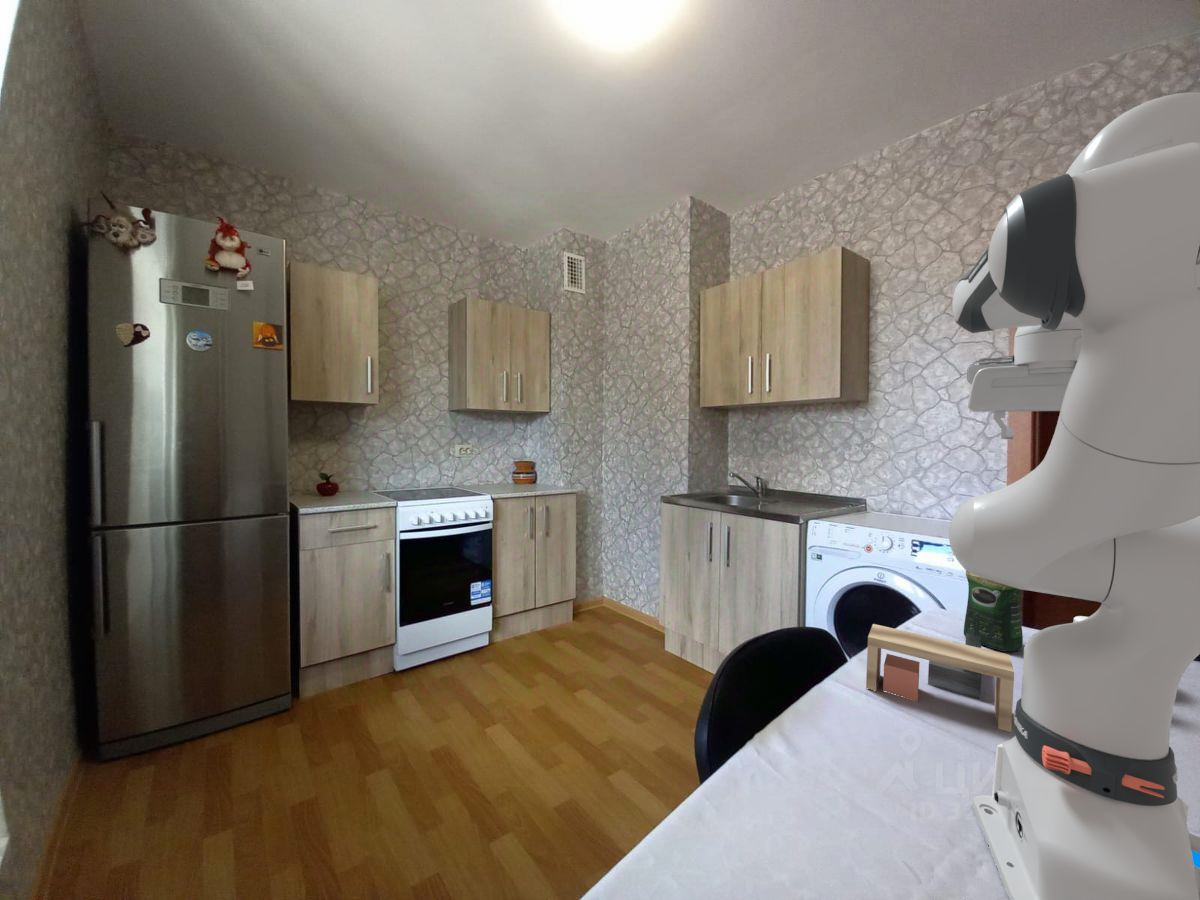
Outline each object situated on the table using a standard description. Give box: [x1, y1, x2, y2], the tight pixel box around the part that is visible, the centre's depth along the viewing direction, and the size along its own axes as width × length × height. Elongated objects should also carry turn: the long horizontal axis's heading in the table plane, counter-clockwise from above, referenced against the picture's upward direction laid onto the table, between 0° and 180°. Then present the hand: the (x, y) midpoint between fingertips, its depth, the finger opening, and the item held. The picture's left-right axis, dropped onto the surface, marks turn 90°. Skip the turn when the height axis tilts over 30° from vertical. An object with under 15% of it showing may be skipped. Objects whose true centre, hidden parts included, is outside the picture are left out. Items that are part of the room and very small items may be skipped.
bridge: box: [865, 623, 1015, 733], centre depth 80 cm, size 7×20×10 cm, turn 53°
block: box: [882, 653, 921, 702], centre depth 83 cm, size 5×5×5 cm
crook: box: [927, 632, 982, 700], centre depth 91 cm, size 21×7×4 cm, turn 141°
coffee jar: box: [963, 570, 1024, 653], centre depth 101 cm, size 10×8×19 cm
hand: (1045, 439), depth 75 cm, fingers open, 8 cm apart
